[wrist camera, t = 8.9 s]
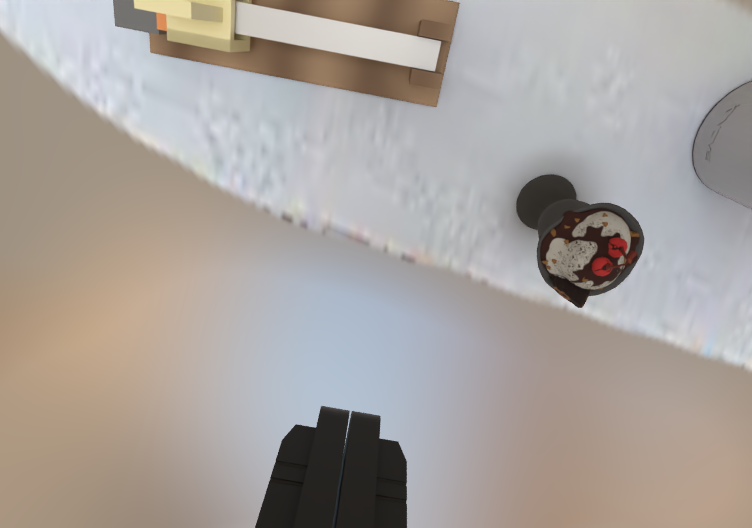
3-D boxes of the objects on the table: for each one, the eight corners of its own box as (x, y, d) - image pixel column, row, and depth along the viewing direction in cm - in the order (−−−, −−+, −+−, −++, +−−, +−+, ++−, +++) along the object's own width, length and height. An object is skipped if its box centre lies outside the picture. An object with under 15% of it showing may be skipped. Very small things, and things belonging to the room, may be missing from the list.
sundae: (569, 148, 36) (668, 211, 22) (596, 216, 38) (700, 311, 25) (493, 187, 38) (542, 267, 24) (523, 250, 40) (583, 355, 27)
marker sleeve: (252, -14, 30) (200, -33, 22) (249, 51, 32) (200, 54, 24) (193, -26, 30) (120, -49, 22) (194, 40, 32) (127, 40, 24)
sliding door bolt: (439, 27, 32) (445, 24, 27) (428, 81, 33) (432, 86, 29) (150, -30, 31) (107, -41, 27) (153, 28, 33) (113, 25, 28)
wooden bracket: (458, 4, 32) (469, -5, 26) (435, 105, 35) (441, 117, 29) (151, -57, 31) (95, -79, 26) (157, 52, 34) (107, 54, 29)
